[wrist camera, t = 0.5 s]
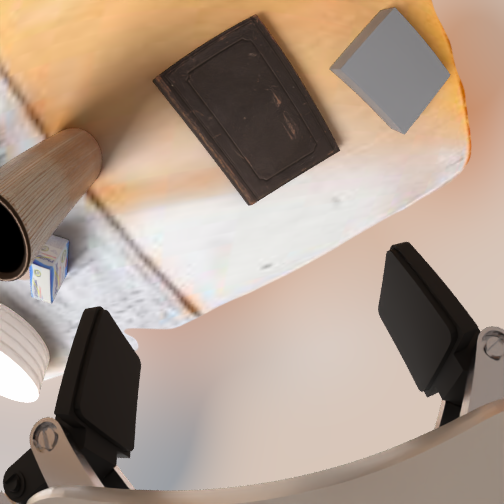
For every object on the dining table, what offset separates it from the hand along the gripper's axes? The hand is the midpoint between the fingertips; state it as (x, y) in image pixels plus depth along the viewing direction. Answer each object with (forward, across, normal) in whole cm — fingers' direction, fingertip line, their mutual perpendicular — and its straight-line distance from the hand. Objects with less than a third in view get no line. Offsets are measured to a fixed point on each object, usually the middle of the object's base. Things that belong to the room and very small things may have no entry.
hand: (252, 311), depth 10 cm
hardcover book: (+36, -5, 0) cm, 36 cm away
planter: (+36, +22, 0) cm, 42 cm away
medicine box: (+36, +33, +14) cm, 51 cm away
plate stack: (+36, +66, +33) cm, 82 cm away
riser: (+35, -26, -5) cm, 45 cm away
